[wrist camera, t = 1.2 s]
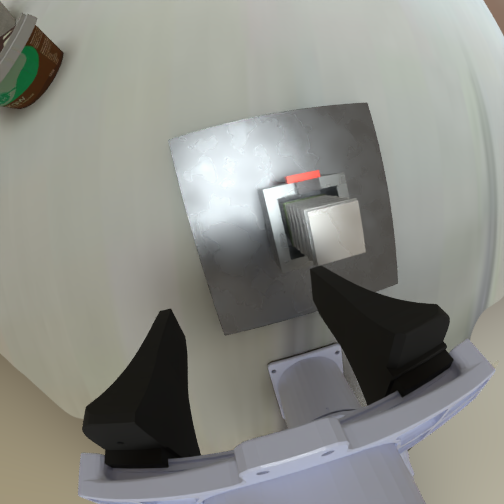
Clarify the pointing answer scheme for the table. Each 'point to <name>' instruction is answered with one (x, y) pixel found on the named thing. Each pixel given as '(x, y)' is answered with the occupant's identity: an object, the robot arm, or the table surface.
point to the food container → (26, 63)
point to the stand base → (269, 211)
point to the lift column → (324, 227)
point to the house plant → (5, 20)
